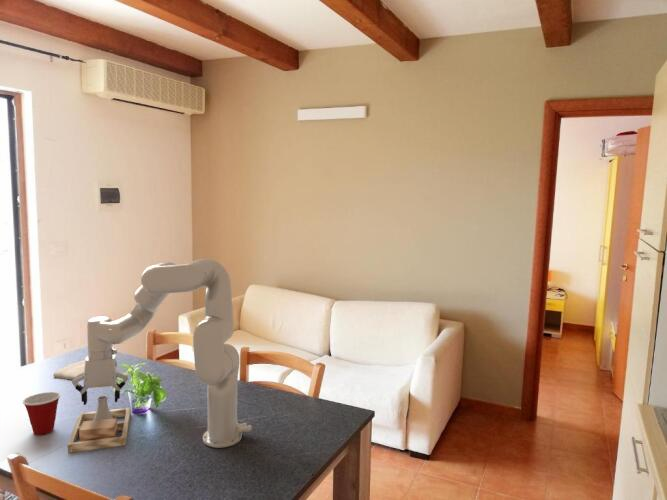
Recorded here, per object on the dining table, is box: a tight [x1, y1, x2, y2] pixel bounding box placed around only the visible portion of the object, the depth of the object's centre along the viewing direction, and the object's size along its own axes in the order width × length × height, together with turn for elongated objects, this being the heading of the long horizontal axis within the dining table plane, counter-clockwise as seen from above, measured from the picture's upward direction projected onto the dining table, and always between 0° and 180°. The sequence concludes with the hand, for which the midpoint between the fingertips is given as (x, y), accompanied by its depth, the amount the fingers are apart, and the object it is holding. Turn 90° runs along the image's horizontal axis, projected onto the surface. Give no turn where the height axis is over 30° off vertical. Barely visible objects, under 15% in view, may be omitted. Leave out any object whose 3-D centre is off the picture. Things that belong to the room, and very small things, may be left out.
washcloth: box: [52, 359, 86, 381], centre depth 215 cm, size 12×18×3 cm, turn 165°
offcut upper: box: [78, 417, 118, 440], centre depth 159 cm, size 10×6×3 cm, turn 105°
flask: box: [93, 395, 114, 420], centre depth 169 cm, size 7×7×10 cm
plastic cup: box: [22, 391, 61, 436], centre depth 164 cm, size 11×11×12 cm
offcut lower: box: [79, 429, 118, 442], centre depth 159 cm, size 10×6×3 cm, turn 107°
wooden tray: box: [67, 407, 131, 453], centre depth 165 cm, size 16×22×2 cm
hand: (101, 401), depth 168 cm, fingers open, 9 cm apart
